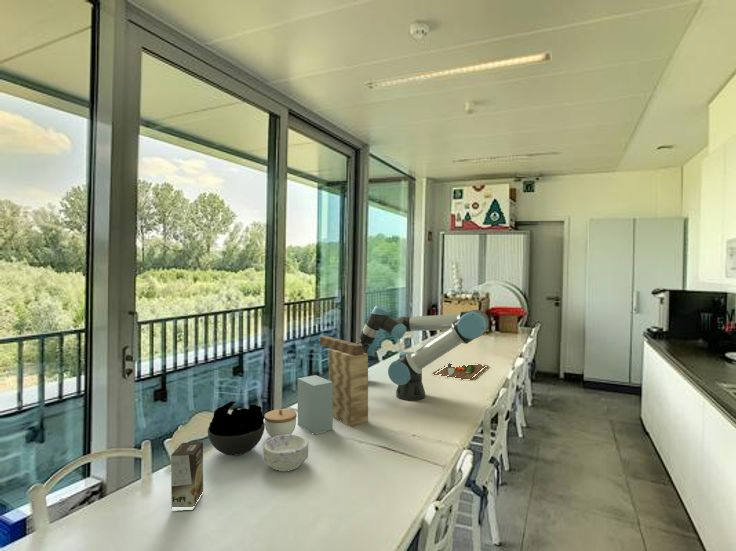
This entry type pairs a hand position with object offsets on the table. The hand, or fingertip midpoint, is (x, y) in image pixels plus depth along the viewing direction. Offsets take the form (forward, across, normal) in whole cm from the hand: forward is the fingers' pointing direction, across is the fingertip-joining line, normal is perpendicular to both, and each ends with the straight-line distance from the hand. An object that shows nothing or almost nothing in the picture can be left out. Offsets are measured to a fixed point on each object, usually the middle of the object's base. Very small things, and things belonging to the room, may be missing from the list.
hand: (350, 369), depth 225 cm
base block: (+12, +42, +9) cm, 45 cm away
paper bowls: (+10, +77, +16) cm, 79 cm away
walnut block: (-16, +25, -2) cm, 30 cm away
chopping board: (-8, -77, +45) cm, 90 cm away
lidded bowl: (+16, +57, +3) cm, 59 cm away
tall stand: (+8, +28, +17) cm, 34 cm away
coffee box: (+16, +108, +5) cm, 109 cm away
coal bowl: (+20, +76, -3) cm, 78 cm away
